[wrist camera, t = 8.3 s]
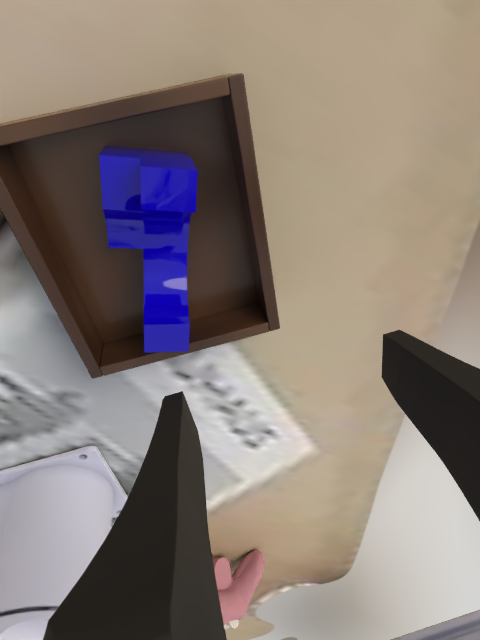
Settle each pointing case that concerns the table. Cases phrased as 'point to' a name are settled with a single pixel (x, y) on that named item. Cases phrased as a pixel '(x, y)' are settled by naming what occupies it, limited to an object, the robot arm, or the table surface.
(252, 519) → the table surface
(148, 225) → the cable holder
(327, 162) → the table surface
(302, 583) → the table surface
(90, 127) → the box
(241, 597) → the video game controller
